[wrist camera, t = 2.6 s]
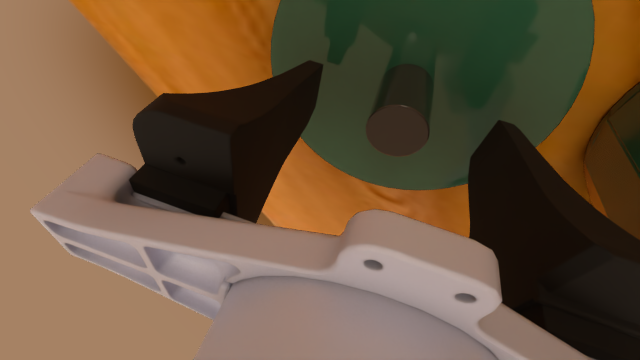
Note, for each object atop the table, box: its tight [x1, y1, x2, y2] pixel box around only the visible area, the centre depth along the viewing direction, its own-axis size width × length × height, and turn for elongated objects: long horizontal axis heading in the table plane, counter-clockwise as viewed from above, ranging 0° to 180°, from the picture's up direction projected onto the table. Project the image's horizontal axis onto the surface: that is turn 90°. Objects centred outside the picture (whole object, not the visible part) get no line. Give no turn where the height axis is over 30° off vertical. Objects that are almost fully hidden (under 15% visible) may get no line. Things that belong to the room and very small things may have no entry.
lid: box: [271, 0, 595, 190], centre depth 13 cm, size 13×13×4 cm
